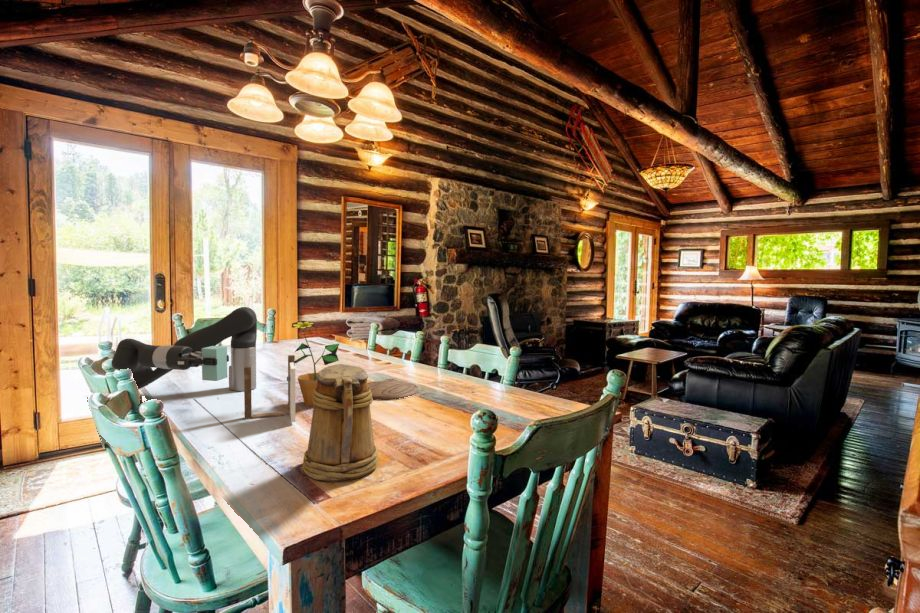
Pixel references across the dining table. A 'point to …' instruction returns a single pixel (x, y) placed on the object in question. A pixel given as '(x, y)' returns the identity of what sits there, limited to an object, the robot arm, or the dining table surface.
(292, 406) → the cream door
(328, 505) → the dining table surface
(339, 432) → the tankard
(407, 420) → the dining table surface
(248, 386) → the door frame
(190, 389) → the dining table surface
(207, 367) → the teal block
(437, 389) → the dining table surface
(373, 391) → the trivet
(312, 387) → the potted plant
